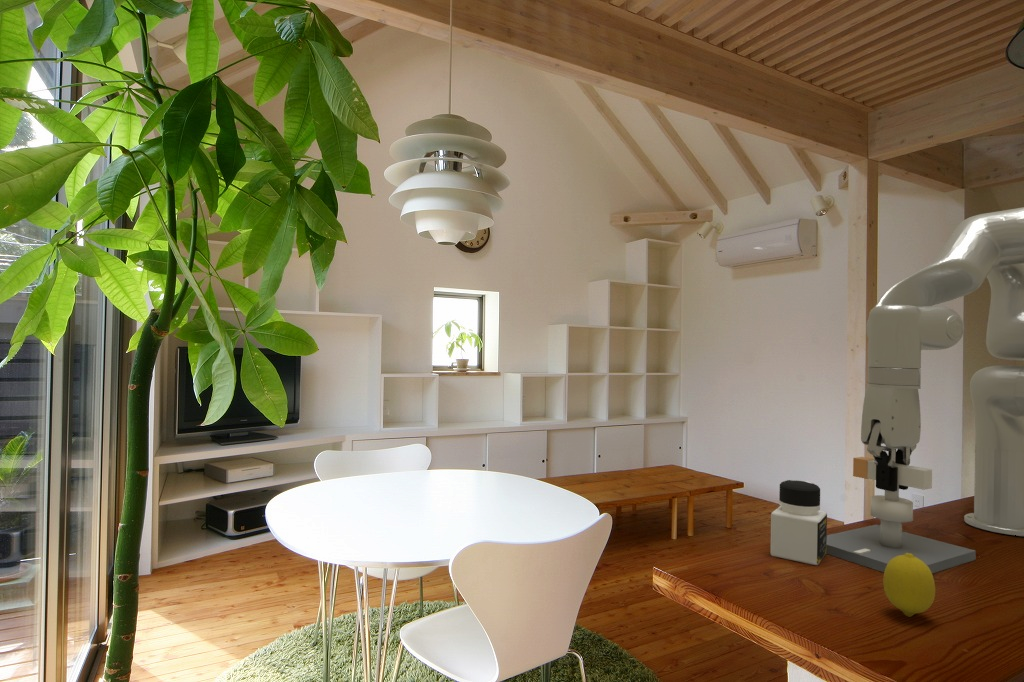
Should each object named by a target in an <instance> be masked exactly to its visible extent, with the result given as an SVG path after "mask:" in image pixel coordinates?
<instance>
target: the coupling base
mask: <svg viewBox="0 0 1024 682" xmlns="http://www.w3.org/2000/svg"><path fill="white" fill-rule="evenodd" d="M976 551H977V550H975V549H970V548H967V547H964V546H959V545H957V544H956V545H955V544H952V543H948V542H944V541H940V540H936V539H933V538H929V537H925V536H921V535H918V534H913V533H910V532H907V531H903V522H892V521H886V520H882V519H880V524H873V525H869V526H863V527H858V528H853V529H849V530H845V531H840V532H837V533H831V534H827V541H826V555H828V556H829V555H830V556H832V557H835V558H838V559H841V560H844V561H847V562H851V563H854V564H857V565H861V566H862V567H866V568H868V569H869V568H870V569H871V570H872V569H873V570H875V571H879V572H882V573H884V572H885V568H886V566H887V564H888V562H889V561H890V560H891V559H893V558H894V557H896V556H900V555H904V554H906V553H911V554H913V555H914V557H916V558H918V559H920V560H921V561H923V562H924V563H925V564H926V565H927V566H928V567H929V569H930V570H931V572H932V574H935V573H938V572H941V571H945V570H947V569H952V568H954V567H958V566H961V565H964V564H966V563H967V564H968V563H970V562H974V561H976V560H977V559H976V557H977V552H976Z"/></svg>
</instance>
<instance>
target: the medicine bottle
mask: <svg viewBox="0 0 1024 682" xmlns="http://www.w3.org/2000/svg"><path fill="white" fill-rule="evenodd" d="M778 497H779V502H778V503H779V506H778V507H776V508H775V510H773V511H772V512H771V514H770V548H769V549H770V555H771V556H772V557H775V558H780V559H785V560H790V561H795V562H798V563H799V562H800V563H804V564H808V565H812V566H819V564H820V563H821V561H822V560H823V559H824V557H825V556H826V555H827V554H826V541H827V535H828V534H827V531H828V527H827V526H828V513H827V512H826V511H824V510H820V509H821V488H820V487H819V485H817V484H815V483H813V482H811V481H806V480H801V479H800V480H799V479H789V480H788V479H787V480H784V481H781V482H780V483H779V496H778Z"/></svg>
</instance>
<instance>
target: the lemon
mask: <svg viewBox="0 0 1024 682" xmlns="http://www.w3.org/2000/svg"><path fill="white" fill-rule="evenodd" d="M882 584H883V590H884V593H885V595H886V598H887V599H888V600H889V602H890V603H891V604H892V605H893V606H894V607H895V608H897V609H899V610H900V611H901V612H902V613H903V615H905V616H906V617H913V616H914V615H916V614H920V613H924V612H926V611H927V610H928V609H929V608H930V607H931V606H932V605H933V603H934V600H935V597H936V583H935V578H934V575H933V573H932V572H931V570H930V569H929V567H928V566H927V565H926V564H925V563H924V562H923V561H921V560H920V559H918V558H916V557H914V555H913V554H911V553H906V554H904V555H900V556H896V557H894V558H893V559H891V560H890V561H889V562H888V564H887V566H886V568H885V572H883V578H882Z"/></svg>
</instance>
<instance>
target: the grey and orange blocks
mask: <svg viewBox="0 0 1024 682" xmlns="http://www.w3.org/2000/svg"><path fill="white" fill-rule="evenodd" d="M852 467H853V469H852V470H853V471H852V477H855V478H859V479H860V478H861V479H864V480H865V479H867V480H872V481H873V480H874V481H876V464H875V463H874V458H871V457H864V456H858V457H853V460H852ZM894 467H898V479H897V491H895V492H892V491H887V490H884V494H883V495H879V494H878V495H875V494H874V495H871V496H870V508H869V509H870V516H872V518H876V519H878V520H881V519H882V520H886V521H892V522H902V523H911V522H913V521H914V502H913V501H912V500H910V499H906V498H902V497H900V489H899V485H903V486H908V488H913V489H918V490H923V491H924V490H928V489H932V487H933V469H931V468H926V467H919V466H914V465H910V464H909V465H903V464H897V463H895V466H894Z"/></svg>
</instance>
